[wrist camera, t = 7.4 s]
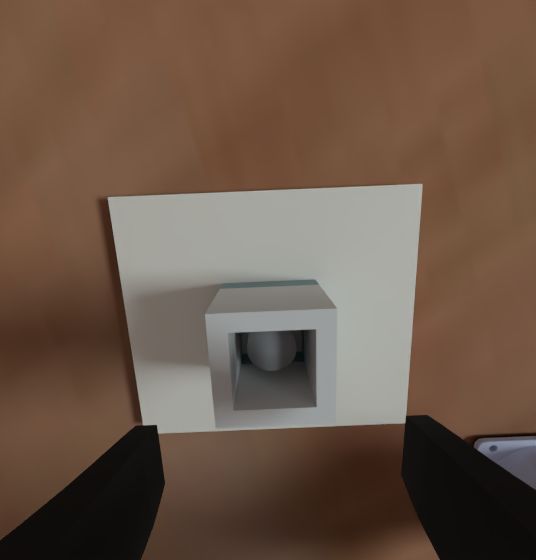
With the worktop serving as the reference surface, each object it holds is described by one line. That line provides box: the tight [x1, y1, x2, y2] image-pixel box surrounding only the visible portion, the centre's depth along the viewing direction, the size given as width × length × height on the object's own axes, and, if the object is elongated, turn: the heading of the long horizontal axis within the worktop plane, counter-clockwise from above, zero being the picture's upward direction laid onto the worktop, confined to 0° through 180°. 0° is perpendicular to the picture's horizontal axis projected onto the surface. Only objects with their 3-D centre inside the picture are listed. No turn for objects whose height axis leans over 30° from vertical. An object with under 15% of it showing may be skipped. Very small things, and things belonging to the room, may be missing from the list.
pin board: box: [108, 184, 423, 433], centre depth 15 cm, size 16×14×4 cm
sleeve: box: [205, 279, 337, 428], centre depth 14 cm, size 5×5×5 cm
